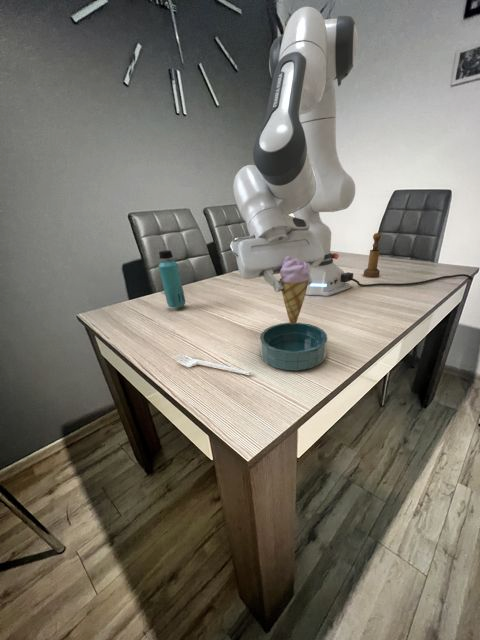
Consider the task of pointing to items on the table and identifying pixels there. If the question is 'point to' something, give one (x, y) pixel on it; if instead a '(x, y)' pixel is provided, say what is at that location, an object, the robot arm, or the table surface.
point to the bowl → (293, 346)
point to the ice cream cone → (294, 285)
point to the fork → (206, 364)
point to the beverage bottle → (171, 280)
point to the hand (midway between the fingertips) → (294, 287)
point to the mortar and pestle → (373, 259)
